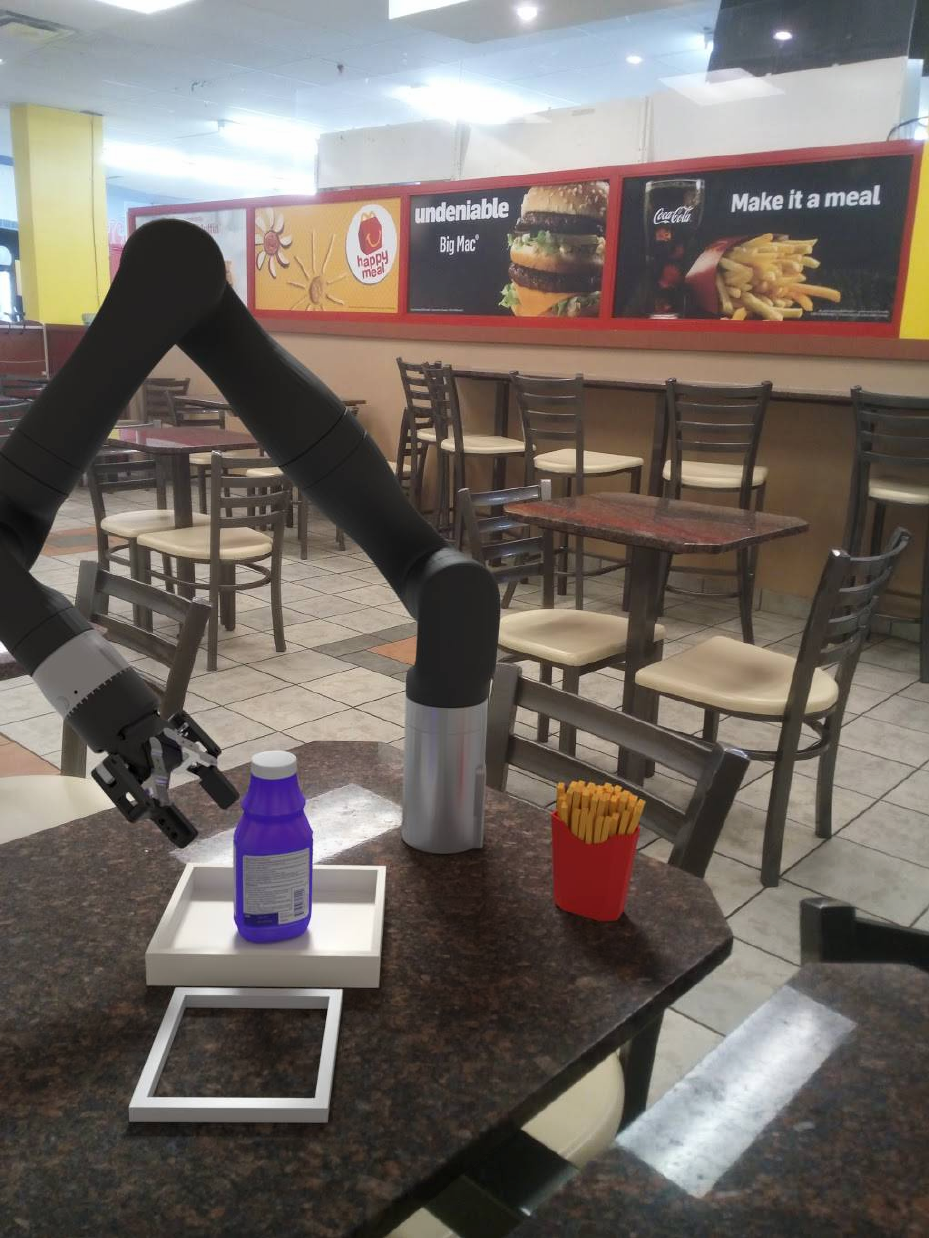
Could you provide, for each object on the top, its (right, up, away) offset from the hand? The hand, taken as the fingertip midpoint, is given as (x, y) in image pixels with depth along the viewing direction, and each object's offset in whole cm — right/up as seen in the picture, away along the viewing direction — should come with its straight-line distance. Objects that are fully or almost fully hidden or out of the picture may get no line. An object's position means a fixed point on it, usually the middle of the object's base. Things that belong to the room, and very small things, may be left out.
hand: (212, 822), depth 93 cm
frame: (+6, -15, -15) cm, 22 cm away
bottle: (+5, -11, +2) cm, 12 cm away
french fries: (+36, -11, +9) cm, 39 cm away
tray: (+6, -11, +2) cm, 13 cm away
